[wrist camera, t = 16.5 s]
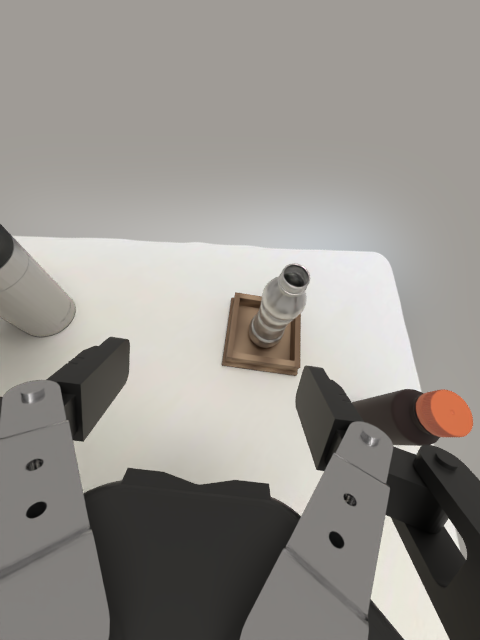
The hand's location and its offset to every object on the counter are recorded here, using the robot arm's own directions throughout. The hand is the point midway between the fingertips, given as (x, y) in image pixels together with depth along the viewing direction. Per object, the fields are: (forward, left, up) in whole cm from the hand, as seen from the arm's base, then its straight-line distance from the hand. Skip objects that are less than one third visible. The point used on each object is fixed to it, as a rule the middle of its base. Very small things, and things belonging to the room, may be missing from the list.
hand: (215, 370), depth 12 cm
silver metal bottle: (+8, +16, -34) cm, 39 cm away
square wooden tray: (+8, +17, -35) cm, 39 cm away
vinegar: (+26, +3, -35) cm, 44 cm away
